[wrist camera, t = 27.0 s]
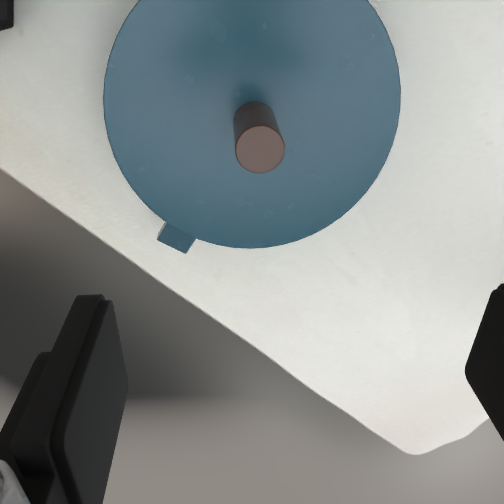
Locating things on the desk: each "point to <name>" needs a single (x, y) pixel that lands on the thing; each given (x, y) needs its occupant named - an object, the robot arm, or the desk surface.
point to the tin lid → (251, 113)
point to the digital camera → (6, 14)
